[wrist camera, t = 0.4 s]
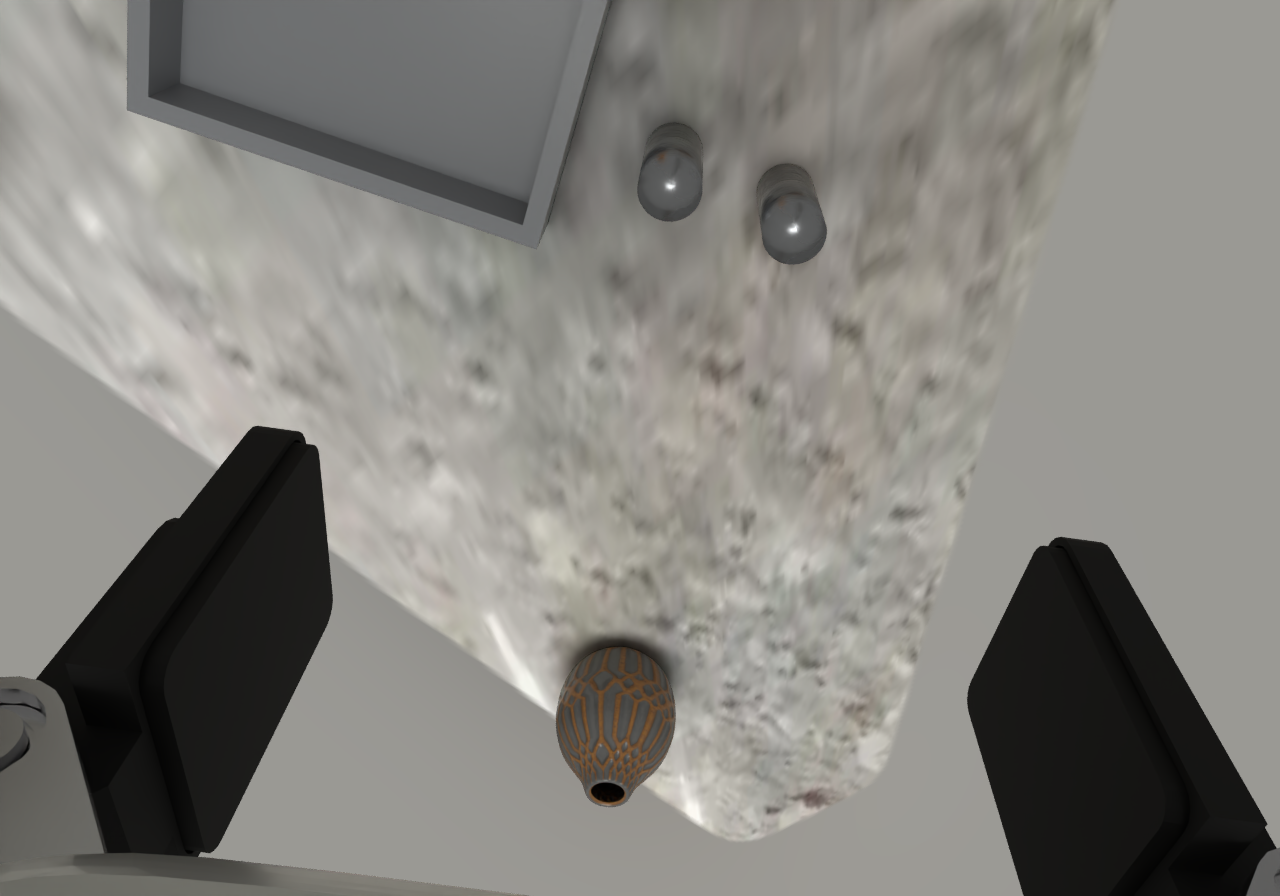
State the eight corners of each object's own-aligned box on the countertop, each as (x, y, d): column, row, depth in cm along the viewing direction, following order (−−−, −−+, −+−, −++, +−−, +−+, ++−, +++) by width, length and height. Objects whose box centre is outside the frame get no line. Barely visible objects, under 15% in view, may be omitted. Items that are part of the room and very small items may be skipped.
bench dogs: (656, 114, 37) (649, 147, 32) (823, 175, 37) (837, 215, 33) (637, 169, 38) (628, 208, 34) (799, 227, 39) (810, 272, 35)
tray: (176, -275, 30) (129, -286, 28) (637, -92, 33) (631, -88, 30) (165, 92, 37) (126, 110, 35) (547, 224, 39) (536, 249, 37)
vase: (542, 670, 55) (517, 793, 48) (612, 611, 52) (597, 734, 45) (628, 722, 58) (616, 848, 50) (700, 668, 54) (699, 794, 47)
